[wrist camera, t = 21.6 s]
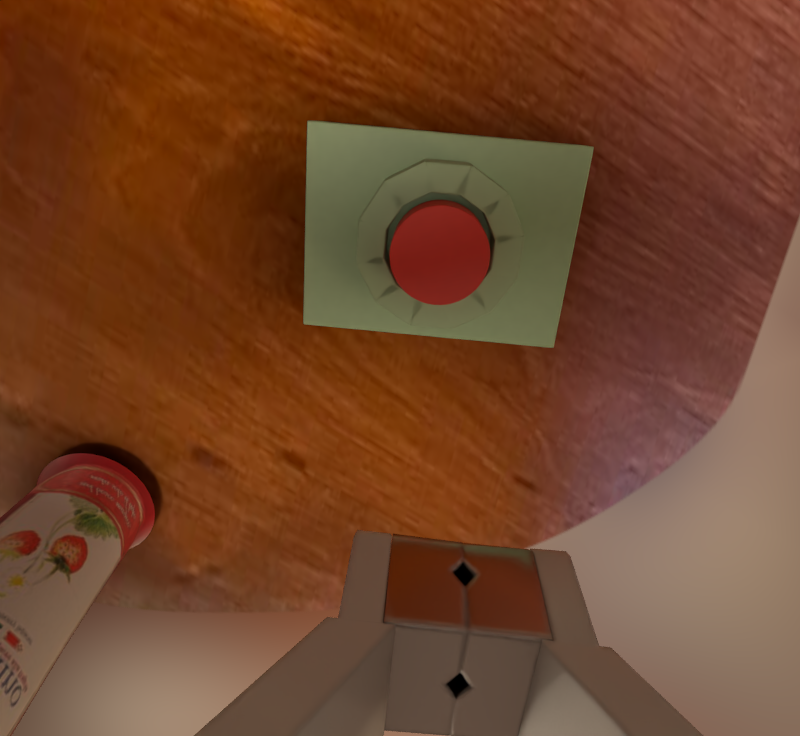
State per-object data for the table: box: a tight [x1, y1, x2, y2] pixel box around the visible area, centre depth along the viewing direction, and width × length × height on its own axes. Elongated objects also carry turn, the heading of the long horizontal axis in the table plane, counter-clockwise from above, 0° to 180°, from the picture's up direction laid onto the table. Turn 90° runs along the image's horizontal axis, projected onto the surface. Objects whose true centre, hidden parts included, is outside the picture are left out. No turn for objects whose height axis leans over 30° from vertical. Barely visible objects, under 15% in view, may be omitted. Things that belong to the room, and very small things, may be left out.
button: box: [389, 200, 490, 305], centre depth 24 cm, size 4×4×2 cm
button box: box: [303, 120, 594, 348], centre depth 26 cm, size 12×9×4 cm
